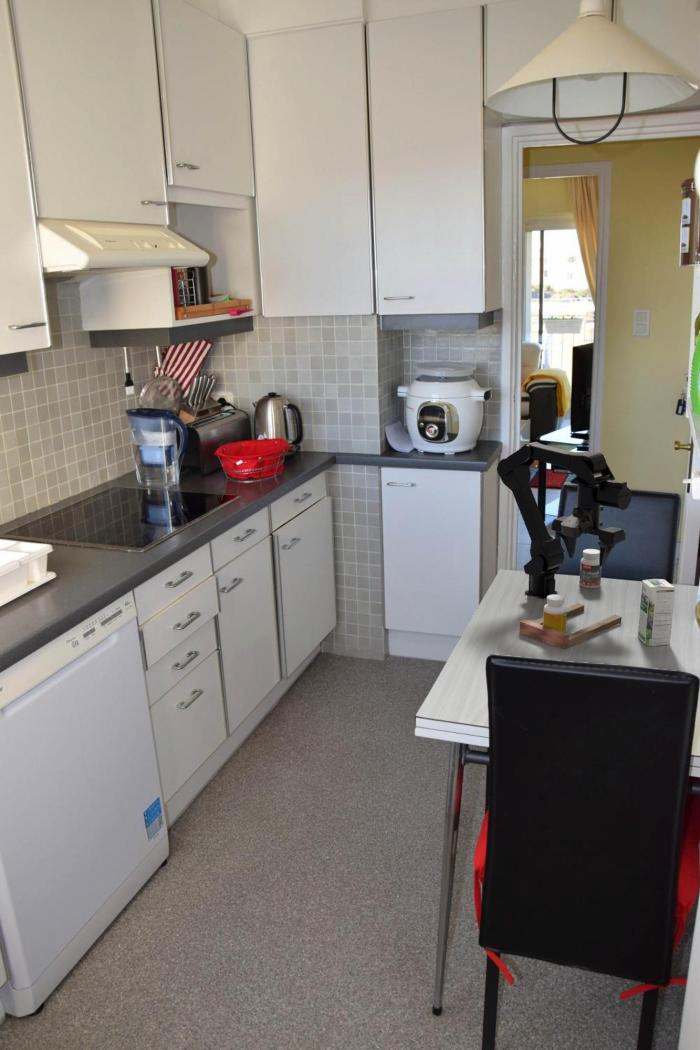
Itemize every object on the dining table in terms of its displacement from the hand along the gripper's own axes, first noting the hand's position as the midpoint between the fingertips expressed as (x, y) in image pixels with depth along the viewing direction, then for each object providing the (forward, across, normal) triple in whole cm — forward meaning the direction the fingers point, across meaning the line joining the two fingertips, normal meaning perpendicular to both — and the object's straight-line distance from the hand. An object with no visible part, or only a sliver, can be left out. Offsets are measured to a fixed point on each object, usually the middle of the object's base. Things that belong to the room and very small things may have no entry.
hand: (586, 561), depth 217 cm
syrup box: (+13, +24, -6) cm, 28 cm away
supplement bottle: (+13, +6, -20) cm, 24 cm away
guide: (+12, +6, -12) cm, 19 cm away
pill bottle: (+13, -9, +15) cm, 22 cm away
